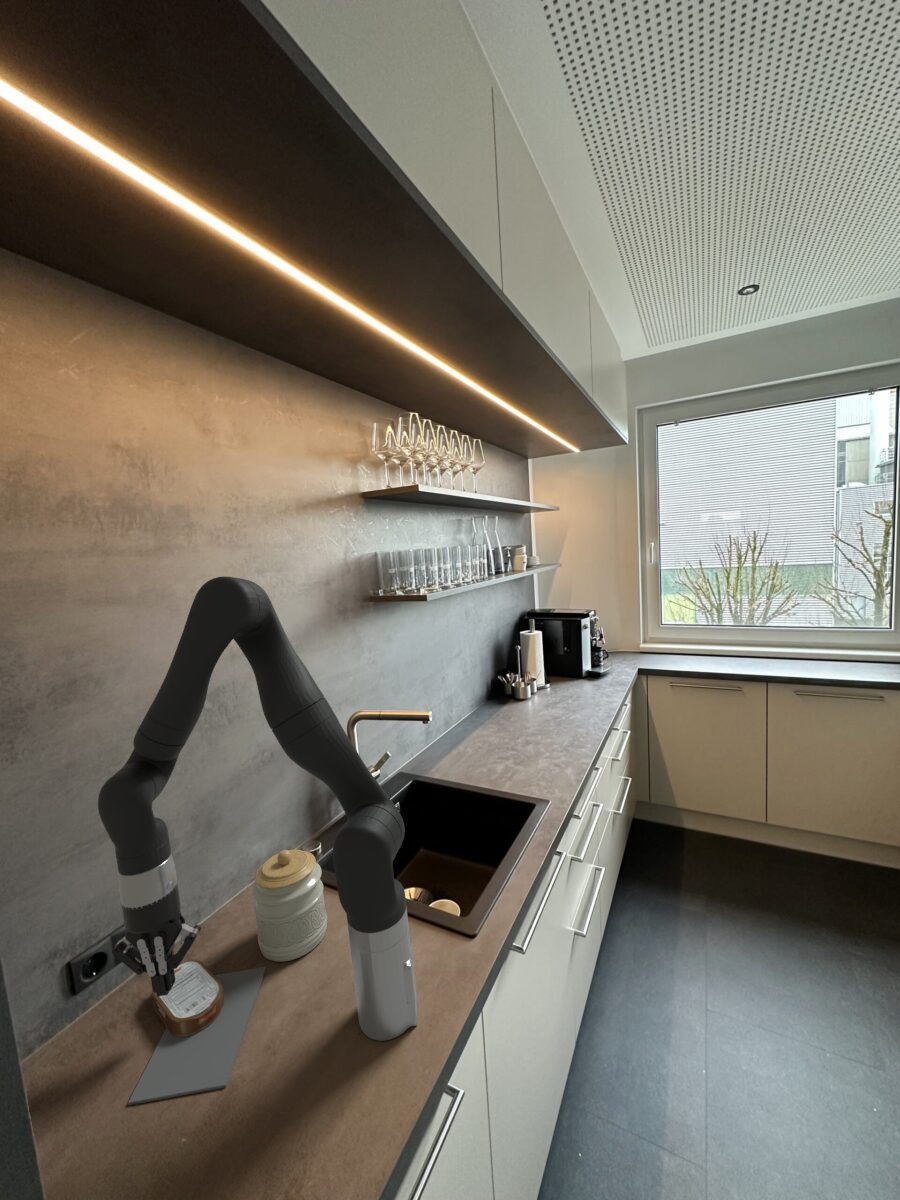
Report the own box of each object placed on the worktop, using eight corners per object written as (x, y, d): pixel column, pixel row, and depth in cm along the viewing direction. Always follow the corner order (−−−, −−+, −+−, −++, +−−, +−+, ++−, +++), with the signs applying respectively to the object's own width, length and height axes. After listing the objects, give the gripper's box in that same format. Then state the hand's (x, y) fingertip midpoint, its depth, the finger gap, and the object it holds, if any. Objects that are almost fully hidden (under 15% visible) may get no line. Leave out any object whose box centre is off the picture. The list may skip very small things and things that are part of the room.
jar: (303, 969, 87) (292, 876, 85) (244, 958, 90) (232, 869, 89) (340, 916, 99) (330, 834, 98) (286, 908, 103) (276, 829, 101)
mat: (266, 968, 87) (265, 966, 87) (225, 1087, 68) (225, 1084, 68) (191, 981, 86) (191, 978, 86) (128, 1105, 66) (128, 1102, 66)
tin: (180, 1047, 73) (234, 1009, 80) (179, 1027, 73) (233, 990, 80) (144, 998, 83) (195, 967, 90) (143, 980, 83) (194, 950, 89)
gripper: (203, 867, 80) (217, 965, 81) (119, 879, 79) (134, 978, 80) (182, 898, 72) (198, 1005, 74) (89, 912, 71) (107, 1020, 73)
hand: (165, 991), depth 77 cm, fingers closed
